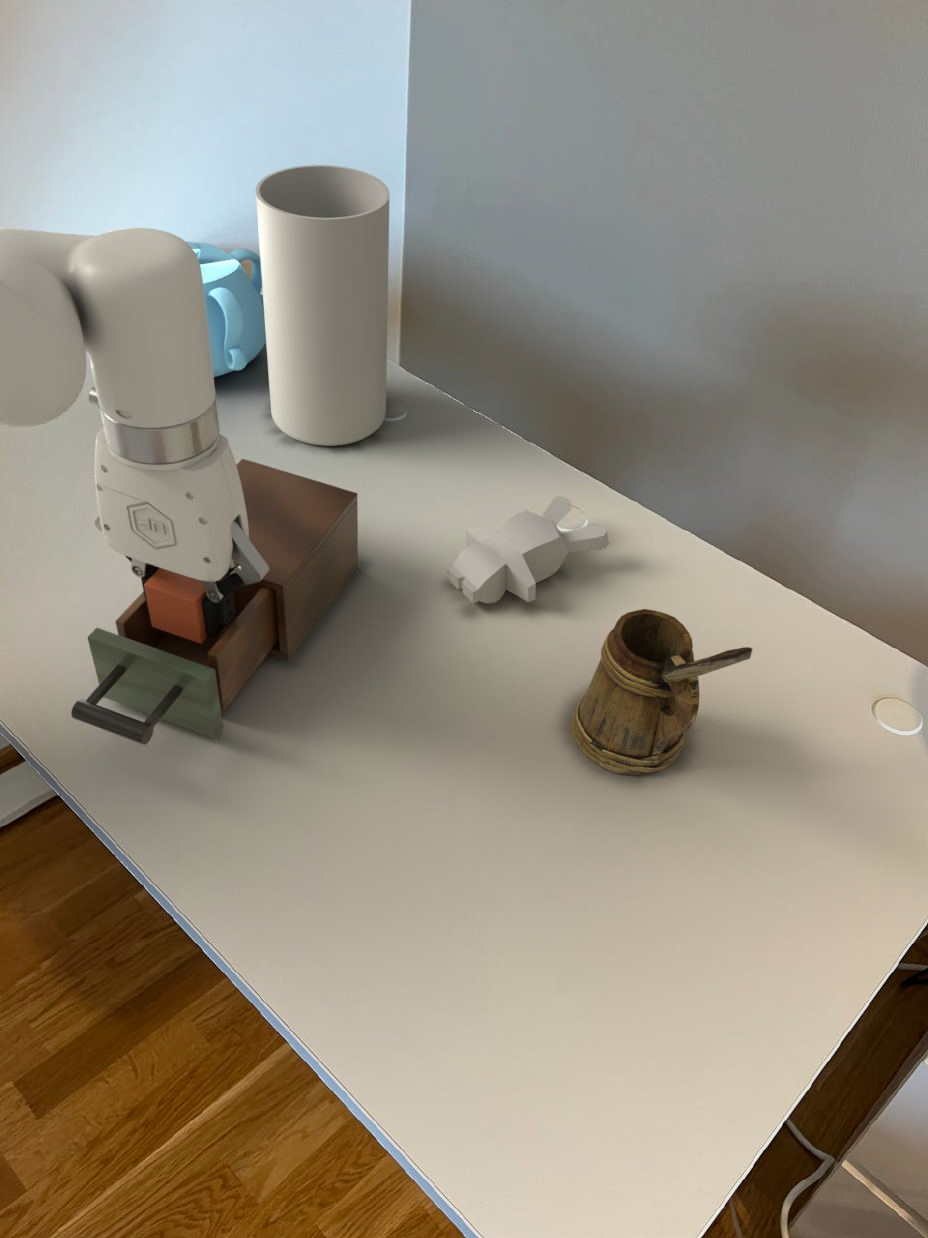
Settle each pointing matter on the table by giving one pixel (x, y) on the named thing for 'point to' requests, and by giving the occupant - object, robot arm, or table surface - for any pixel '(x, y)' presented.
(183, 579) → the block
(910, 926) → the table surface
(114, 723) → the drawer
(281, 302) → the cylinder vase
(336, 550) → the cabinet
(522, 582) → the bunny figurine
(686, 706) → the wooden mug
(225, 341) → the decorative pot
